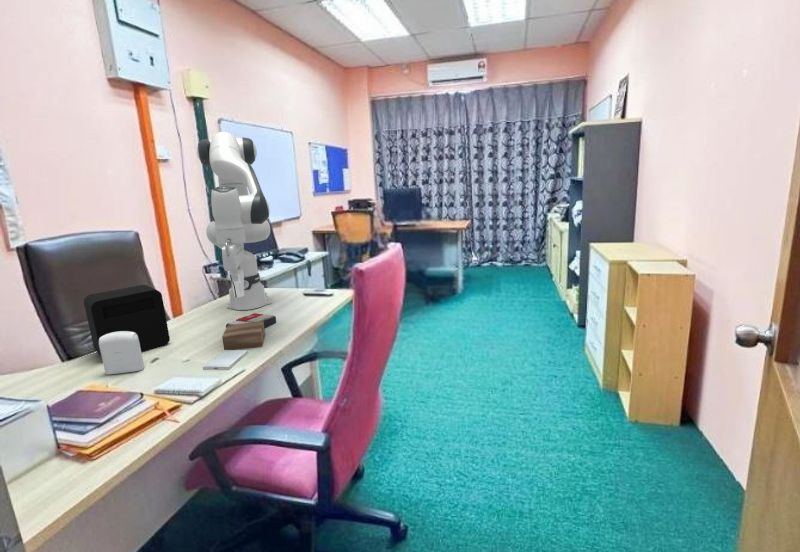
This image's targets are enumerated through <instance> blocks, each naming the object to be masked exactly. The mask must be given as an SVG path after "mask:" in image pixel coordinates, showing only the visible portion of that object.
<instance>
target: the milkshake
mask: <svg viewBox="0 0 800 552" xmlns="http://www.w3.org/2000/svg"><path fill="white" fill-rule="evenodd" d="M237 275H238V281H235V282H233V281H232V277H231V274H230V271H228V277H229V280H230V284H231V287H232V288H233V293H234V297H243V296H245V294H244V273H243V270H242V269H237Z"/></svg>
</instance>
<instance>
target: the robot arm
mask: <svg viewBox="0 0 800 552" xmlns="http://www.w3.org/2000/svg"><path fill="white" fill-rule="evenodd" d="M196 154H197V158H198V159H199V161H200V163H201V164H202V165H203V166H205V167H210V168H211V171H212V172H213V173H214V175H216V176H217V179H218V186H215V187H214V188H212V189H211V198H210V199H211V200H210V201H211V202H210V203H209V205H208V208H209V213H210V220H211V221H210V222H209V223H208V224H207V226H206V230H205V233H206V238H207V239H208V241H209V242H210V243H211V244H213V245H214V246H216V247H218V248H219V249H220V250H221V257H222V264H223V265H222V267H223V269H224V271H225V272H230V274H231V277H232V281H233V282H235V281H238V275H237V269H242V270H243V273H244V294H245V296H243V297H234V293H233V288H232V286H231V287H230V288H229V289H228V293H229V295H228V296H229V303H228V304H227V305H226V309H229V310H230V309H231V310H235V311H245V310H246V311H247V310H254V309H257V308H261V307H263V306H267V305H271V304H272V302H271V299H270V298H269V295H268V294H267V292H265V286H264V284H262V282H261V275H260V273H259V270H258V263H257V257H256V255H255V254H253V253H252V252H251V251H248V250H245V248H244V247H245V244H249V243H258V242H261V241H264V240H265V241H266V240H267V239H268V238H269V237H270V234H271V224H270V223H269V221H268V219H269V218H270V207H269V203H268V200H267V199H266V196H265V194H264V193H263V191H262V187H261V184H260V182H259V180H258V178H257V175H256V172H255V170H254V168H253V166H252V165H253V163H255V161H256V159H257V154H258V153H257V148H256V145H255V143H254V142H253V140H252V139H251V138H249V137H235V135H233V134H232V133H230V132H227V131H219V132H217V133H215V134H214V135H213V136H212V138H210V139H209V138H204V139H201V140H199V142H198V143H197V147H196Z"/></svg>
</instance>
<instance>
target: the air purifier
mask: <svg viewBox="0 0 800 552" xmlns="http://www.w3.org/2000/svg"><path fill="white" fill-rule="evenodd" d="M83 307H84V309H85V314H86V319H87V324H88V327H89V332H90V336H91V342H92V345H93V349H94V350H95V351H96V353H98V355H99V356H100V357H101V358H102V356H101V352H100V347H99V338H100V337H102V336H103V335H106V334H109V333H112V332H118V331H129V332H135V333H136V334H137V335H138V339H139V344H140V348H141V353H143V352H144V353H145V352H148V351H151V350H155V349H158V348H162V347H165V346H167V345H168V344H169V342H170V340H171V339H170V332H169V327H168V322H167V316H166V310H165V306H164V299H163V294H162V292H161V291H160V290H158V289H155V288H153V287H151V286H149V285H146V284H140V285H136V286H130V287H124V288H119V289H112V290H107V291H102V292H97V293H92V294H88V295H86V296H85V297H84V300H83Z"/></svg>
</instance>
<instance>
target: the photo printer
mask: <svg viewBox="0 0 800 552" xmlns="http://www.w3.org/2000/svg"><path fill="white" fill-rule="evenodd" d="M99 347H100V352H101V356H102V357H101V356H100V357H101V360H102V363H103V370H104V372H105V375H107V376H108V375H110V376H111V375H118V374H126V373H131V372H132V373H133V372H139V371H142V370H143V369H145V362H144V359H143V352H141V348H140V344H139V339H138V335H137V334H136V333H135V332H129V331H118V332H112V333H109V334H106V335H103V336H102V337H100V338H99Z"/></svg>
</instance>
